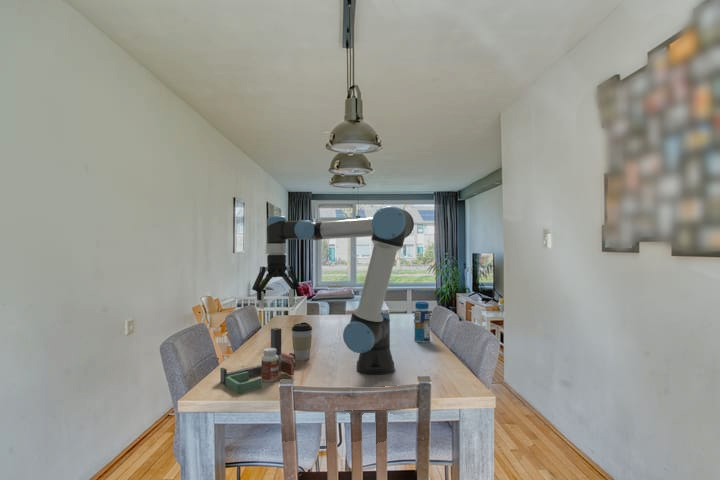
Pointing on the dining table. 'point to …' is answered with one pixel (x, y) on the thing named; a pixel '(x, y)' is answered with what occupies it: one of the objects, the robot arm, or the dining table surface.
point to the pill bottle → (270, 365)
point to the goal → (238, 387)
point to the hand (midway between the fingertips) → (276, 306)
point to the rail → (252, 371)
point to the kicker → (284, 358)
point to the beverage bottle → (422, 322)
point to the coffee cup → (302, 340)
